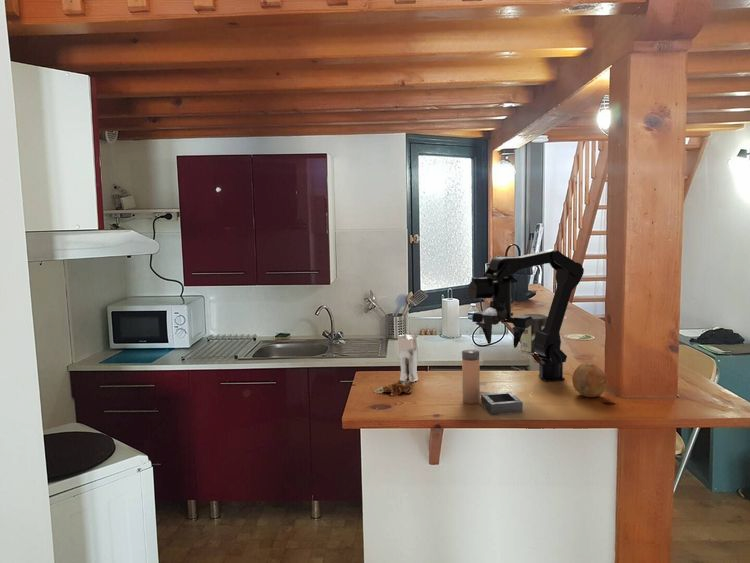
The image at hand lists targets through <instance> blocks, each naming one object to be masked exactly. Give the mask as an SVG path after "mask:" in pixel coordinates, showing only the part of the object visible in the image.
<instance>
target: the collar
mask: <svg viewBox="0 0 750 563" xmlns="http://www.w3.org/2000/svg"><path fill="white" fill-rule="evenodd" d="M523 403H524V402H523V401H522V400H521V399H520V398H519V397H518V396H516V395H515V394H514V393H513V392H511V391H502V392H491V393H489V392H488V393H480V404H481V405H482V407H483V408H484V409H485V410H486V411H487V412H488V413H489V414H490V415H491V416H495V415H505V414H506V415H508V414H517V413H523V412H524V411H523V410H524V409H523V408H524V407H523V406H524V405H523Z"/></svg>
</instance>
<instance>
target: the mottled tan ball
mask: <svg viewBox="0 0 750 563" xmlns="http://www.w3.org/2000/svg"><path fill="white" fill-rule="evenodd" d="M571 378H572V379H571V380H572V381H571V382H572V384H573V387H574V390H575V391H576V392H577V393H578V394H579V395H581V396H583V397H586V398H595V397H598V396H601V395H602V394H603V393H604V392H605V391H606V389H607V387H608V377H607V374H606V373H605V371H604V370H603V368H601V367H600V366H599V365H596V364H594V363H589V362H588V363H582V364H579V365H578V366H577V367H576V369H575V370H574V372H573V373H572V377H571Z"/></svg>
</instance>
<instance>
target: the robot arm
mask: <svg viewBox="0 0 750 563" xmlns="http://www.w3.org/2000/svg"><path fill="white" fill-rule="evenodd" d="M545 264H547V265H548V264H549V265H550V268H552V269H553V270H554V271H556V272H555V276H554V277H555V281H556V283H555V284H556V287H555V288H556V289H555V291H554V295H553V299H552V301H551V305H550V308H549V311H548V315H547V321H546V324H545V327H544V329H543V330H542V331H541V332H539V331H536V333H535V338H534V340H533V343H534V345H533V348H534V350H535V352H536V353H537V355H536V356H537V357H538V359H540V363H539V367H538V368H539V369H538V370H539V371H538V372H539V374H538V376H539V377H540V378H541V379H542V380H544V381H545V382H553V381H554V382H556V381H564V380H565V379H566V378H565V377H564V374H563V373H564V367H563V365H564V363H566V361H567V358H568V356H567V354H566V353H565V352H563V350H562V349H561V345H562V339H561V334H560V331H561V328H562V325H563V322H564V319H565V316H566V311H567V308H568V305H569V302H570V298H571V295H572V292H573V290H574V289H575V288H576V287H577V285H579V284H580V282H581V280H582V278H583V275H584V273H585V271H584V270H585V269H584V267H583V265H582V264H581V263H580V262H576V261H575V260H573V259H572V258H569V256H567V255H564V254H563V253H562V252H561V251H559V249H551V248H548V249H546V250H543V251H538V252H537V251H536V252H533V253H532V252H531V253H528V254H523V255H520V256H519V255H518V256H496V257H493V258H492V259H491V260H490V263H489V265H488V267H487V269H486V271H485V272H484V273H483V275H482V277H471V281H470V282H469V284H468V287H467V291H468V296H469V298H470V299H471V300H473V301H474V300H486V299H487V300H488V299H491V298H492V299H491V300H490V301H489V307H488V308H486V309H485V310H480V311H476V312H474V313H472V315H471V322H473V323H475V325H476V326H477V325H478V326H479V327H480V328H481V331H482V332H483V335H484V337H485V340H486V342H487V344H488V345H491V343H492V333H493V325H495V326H496V325H498V324H500V323H506V324H507V323H508V324H512V325H513V327H512V330H513V348H514V349H516V348H517V347H518V345H519V343H520V342H521V336H522V334H523V332H524V330H525V329H526V328H528V327H529V326H531V325H533V319H532V317H531V316H525V315H526V314H521V315H520V314H519V315H516V316H514V312H513V311H512V304H513V303H514V300H513V299H512V283H517V282H518V280H517V278H515V277H514V276H513V275H514V274H516V273H518V272H520V271H522V270H525V269H527V268H533V267H536V266H542V265H545Z"/></svg>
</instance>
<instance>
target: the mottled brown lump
mask: <svg viewBox="0 0 750 563" xmlns="http://www.w3.org/2000/svg"><path fill="white" fill-rule="evenodd" d="M410 383H411V382H402V381H398V382H396V383H391V384H388V385H386V386H385V385H384V386H378V388H376V389H374V390H373V393H374V392H379V393H381V394H383V393H384V392H385V393H390V395H391V394H400V395H401V393H402V392H404V393H405V394H409V393H411V392H412V391H413V390H412V386H411V384H410Z"/></svg>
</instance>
